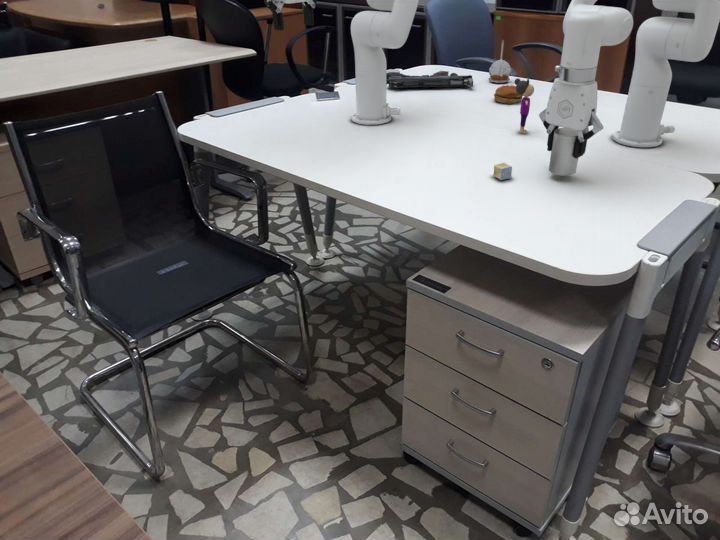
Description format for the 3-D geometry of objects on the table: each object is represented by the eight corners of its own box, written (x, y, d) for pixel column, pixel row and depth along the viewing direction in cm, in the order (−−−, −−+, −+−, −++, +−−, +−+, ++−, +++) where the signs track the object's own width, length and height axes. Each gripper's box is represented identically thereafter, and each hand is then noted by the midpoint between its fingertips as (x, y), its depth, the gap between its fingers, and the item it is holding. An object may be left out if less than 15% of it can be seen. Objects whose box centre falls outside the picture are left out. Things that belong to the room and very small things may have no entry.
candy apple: (512, 80, 221) (516, 39, 213) (505, 84, 216) (509, 42, 208) (493, 78, 225) (496, 38, 217) (485, 82, 219) (489, 41, 211)
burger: (499, 104, 192) (501, 90, 189) (490, 98, 200) (491, 84, 197) (527, 103, 193) (529, 89, 190) (517, 96, 201) (518, 82, 198)
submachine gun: (465, 67, 229) (475, 77, 207) (464, 78, 231) (474, 89, 209) (384, 68, 229) (385, 79, 207) (384, 79, 231) (385, 91, 209)
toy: (529, 138, 161) (536, 84, 154) (509, 137, 162) (515, 83, 155) (527, 127, 170) (534, 75, 162) (508, 126, 171) (514, 75, 163)
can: (569, 164, 138) (575, 126, 133) (580, 174, 133) (587, 135, 128) (544, 166, 138) (550, 128, 133) (554, 176, 133) (560, 137, 128)
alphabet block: (500, 180, 135) (501, 168, 134) (492, 176, 138) (494, 164, 136) (511, 178, 136) (512, 166, 135) (503, 174, 139) (504, 162, 137)
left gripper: (268, -49, 127) (276, 33, 136) (326, -52, 137) (329, 24, 146) (249, -49, 132) (257, 30, 141) (306, -52, 142) (310, 22, 151)
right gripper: (533, 71, 127) (524, 148, 137) (606, 84, 116) (590, 167, 126) (551, 65, 131) (542, 140, 141) (624, 76, 120) (608, 157, 130)
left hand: (294, 27), depth 143 cm, fingers open, 9 cm apart
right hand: (565, 152), depth 133 cm, fingers closed on can, 6 cm apart
